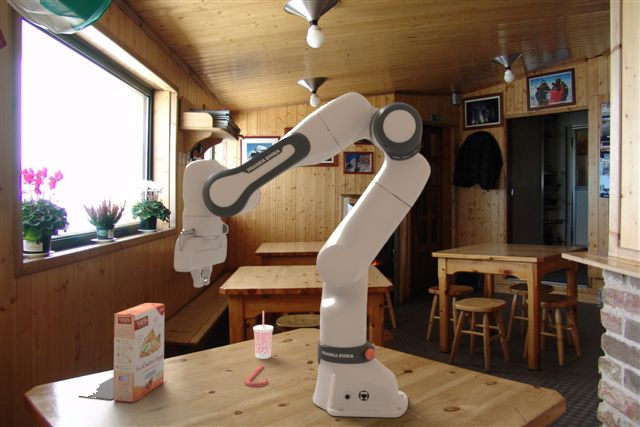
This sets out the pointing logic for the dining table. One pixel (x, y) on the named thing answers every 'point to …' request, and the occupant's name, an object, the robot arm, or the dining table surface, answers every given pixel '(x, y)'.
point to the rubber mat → (105, 390)
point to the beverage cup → (263, 340)
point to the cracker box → (138, 351)
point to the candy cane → (253, 375)
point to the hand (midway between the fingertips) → (201, 285)
